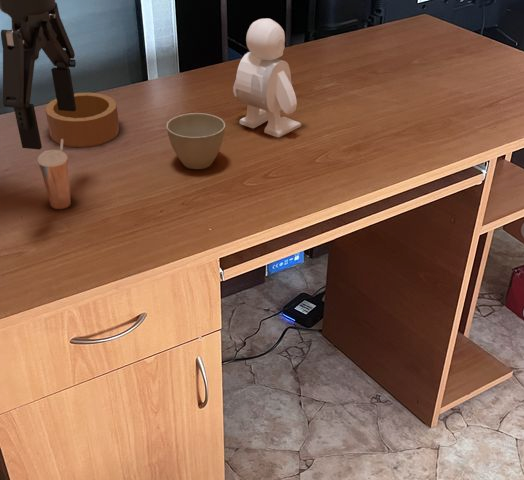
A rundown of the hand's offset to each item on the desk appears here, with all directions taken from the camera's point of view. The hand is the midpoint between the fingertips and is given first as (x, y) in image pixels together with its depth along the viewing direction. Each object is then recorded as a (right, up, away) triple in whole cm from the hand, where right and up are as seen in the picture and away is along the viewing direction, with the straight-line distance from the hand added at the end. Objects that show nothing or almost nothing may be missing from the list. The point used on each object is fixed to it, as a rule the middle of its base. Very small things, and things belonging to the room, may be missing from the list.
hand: (50, 128), depth 119 cm
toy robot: (+33, +9, +31) cm, 46 cm away
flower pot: (+21, -1, +19) cm, 28 cm away
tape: (-1, +7, +29) cm, 30 cm away
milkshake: (0, -10, +8) cm, 13 cm away
